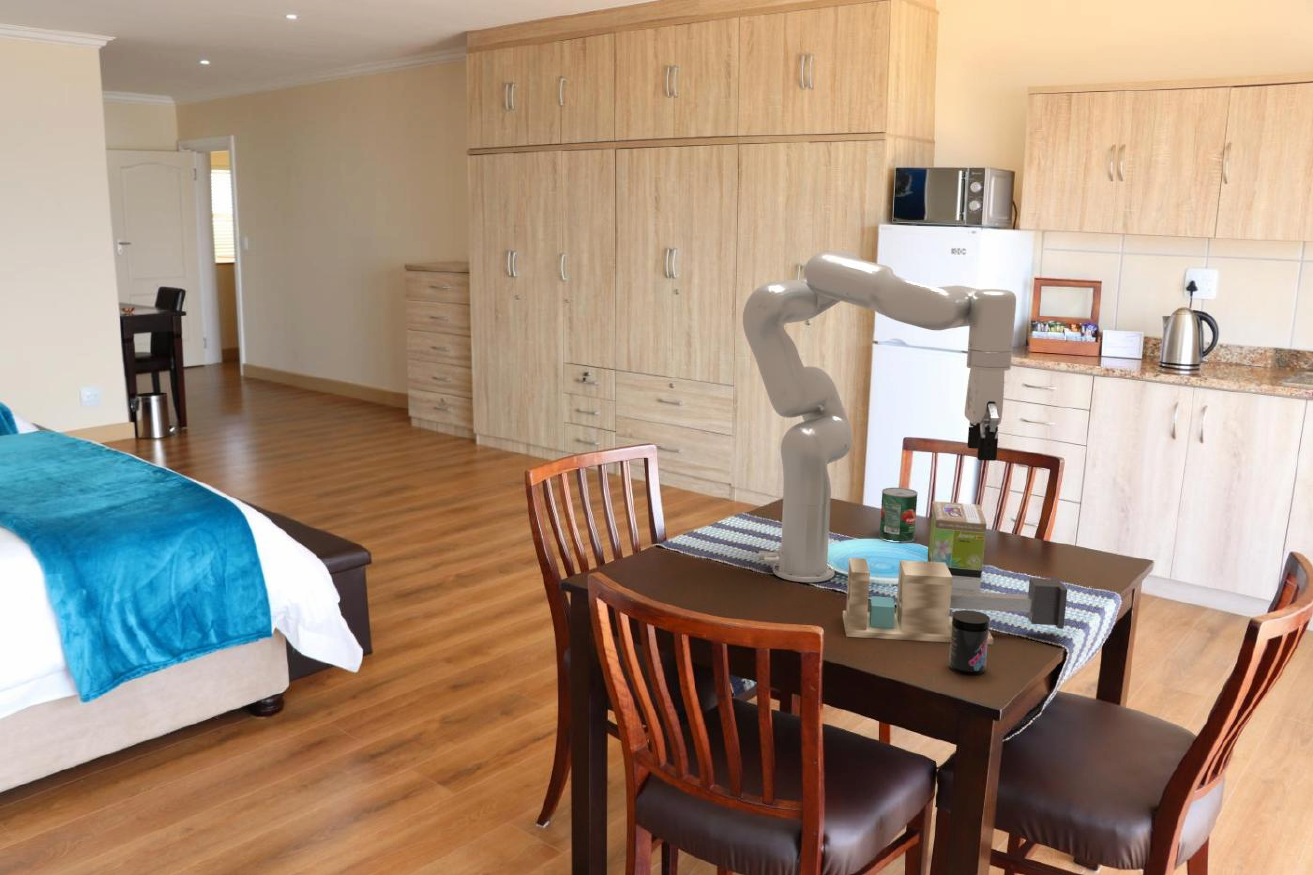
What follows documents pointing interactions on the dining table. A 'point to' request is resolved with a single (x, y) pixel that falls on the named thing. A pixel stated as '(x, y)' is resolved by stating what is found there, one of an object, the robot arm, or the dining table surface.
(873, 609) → the spacer
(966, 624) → the supplement container
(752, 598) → the dining table surface
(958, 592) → the shaft
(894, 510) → the canned tomato
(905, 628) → the wooden slotted block
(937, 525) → the tea box
